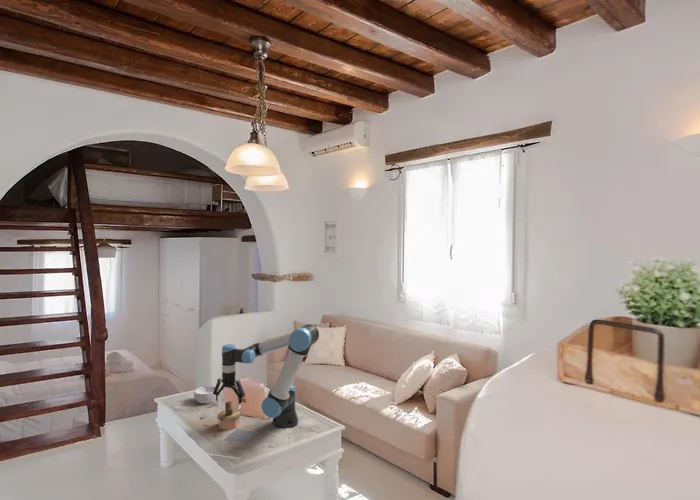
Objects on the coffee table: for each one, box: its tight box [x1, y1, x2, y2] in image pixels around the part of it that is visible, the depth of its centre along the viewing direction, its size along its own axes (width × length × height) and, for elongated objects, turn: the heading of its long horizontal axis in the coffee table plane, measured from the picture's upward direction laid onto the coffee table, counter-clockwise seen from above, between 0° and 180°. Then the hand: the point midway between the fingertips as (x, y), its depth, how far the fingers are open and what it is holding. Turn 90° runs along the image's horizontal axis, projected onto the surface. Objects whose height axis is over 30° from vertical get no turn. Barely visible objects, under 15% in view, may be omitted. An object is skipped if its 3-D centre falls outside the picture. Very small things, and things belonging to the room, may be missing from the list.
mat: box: [223, 428, 260, 444], centre depth 238 cm, size 14×14×1 cm
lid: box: [216, 400, 241, 421], centre depth 251 cm, size 13×13×8 cm
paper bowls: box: [193, 385, 218, 405], centre depth 290 cm, size 15×15×8 cm
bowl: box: [218, 417, 240, 431], centre depth 251 cm, size 11×11×6 cm
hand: (228, 407), depth 251 cm, fingers open, 13 cm apart
